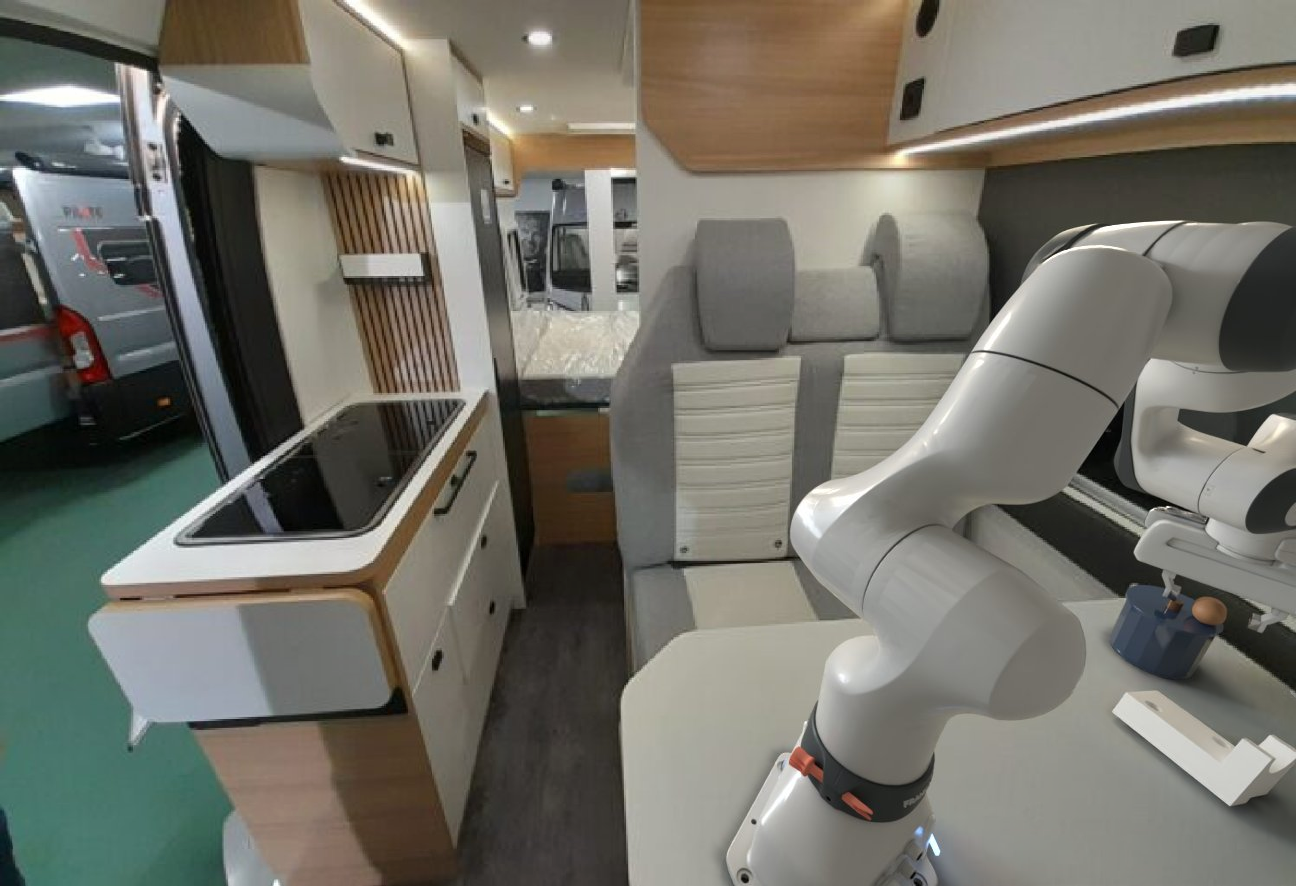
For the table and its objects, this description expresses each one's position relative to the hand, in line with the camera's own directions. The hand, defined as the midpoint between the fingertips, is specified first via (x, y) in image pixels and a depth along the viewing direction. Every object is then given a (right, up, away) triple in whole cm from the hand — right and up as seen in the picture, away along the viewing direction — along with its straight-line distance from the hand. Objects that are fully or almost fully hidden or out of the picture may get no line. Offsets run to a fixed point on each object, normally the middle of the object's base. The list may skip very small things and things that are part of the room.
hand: (1210, 611), depth 77 cm
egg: (0, -1, +1) cm, 2 cm away
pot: (-2, -9, +7) cm, 11 cm away
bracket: (-12, -15, -8) cm, 21 cm away
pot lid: (-2, -1, +3) cm, 4 cm away
